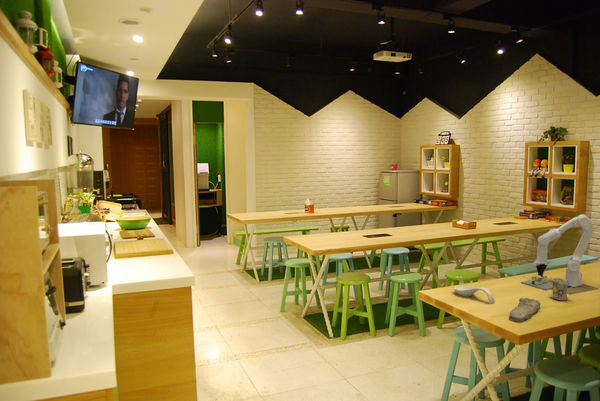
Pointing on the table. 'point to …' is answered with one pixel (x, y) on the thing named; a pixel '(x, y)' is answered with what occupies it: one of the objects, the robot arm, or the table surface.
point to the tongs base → (534, 280)
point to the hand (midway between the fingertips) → (540, 275)
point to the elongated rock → (524, 309)
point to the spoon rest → (471, 290)
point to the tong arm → (541, 280)
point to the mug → (559, 288)
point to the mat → (540, 285)
